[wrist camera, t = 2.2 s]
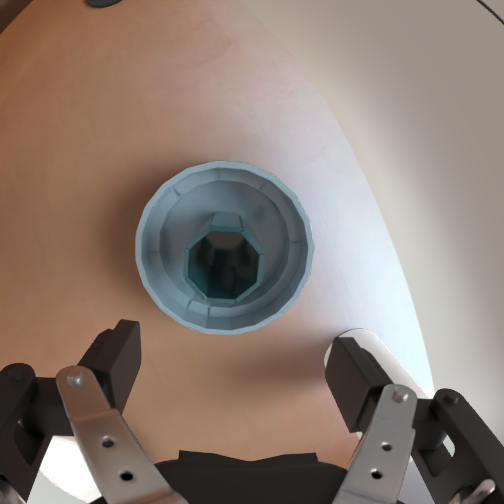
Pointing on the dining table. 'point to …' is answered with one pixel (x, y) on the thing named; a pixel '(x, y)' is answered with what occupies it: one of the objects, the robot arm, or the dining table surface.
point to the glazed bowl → (256, 215)
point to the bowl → (69, 469)
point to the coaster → (102, 2)
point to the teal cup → (223, 259)
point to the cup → (381, 360)
